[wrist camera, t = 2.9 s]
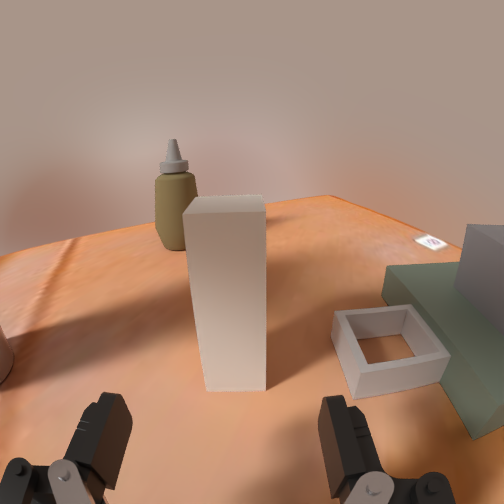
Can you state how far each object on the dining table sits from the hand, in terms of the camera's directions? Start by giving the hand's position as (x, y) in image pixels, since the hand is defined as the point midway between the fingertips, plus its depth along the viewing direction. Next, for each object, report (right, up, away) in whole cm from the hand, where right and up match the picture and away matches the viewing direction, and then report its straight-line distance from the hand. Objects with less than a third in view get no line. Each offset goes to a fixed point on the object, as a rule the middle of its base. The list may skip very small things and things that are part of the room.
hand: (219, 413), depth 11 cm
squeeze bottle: (-11, +7, +41) cm, 43 cm away
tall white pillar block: (0, -4, +13) cm, 14 cm away
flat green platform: (+21, -3, +14) cm, 25 cm away
